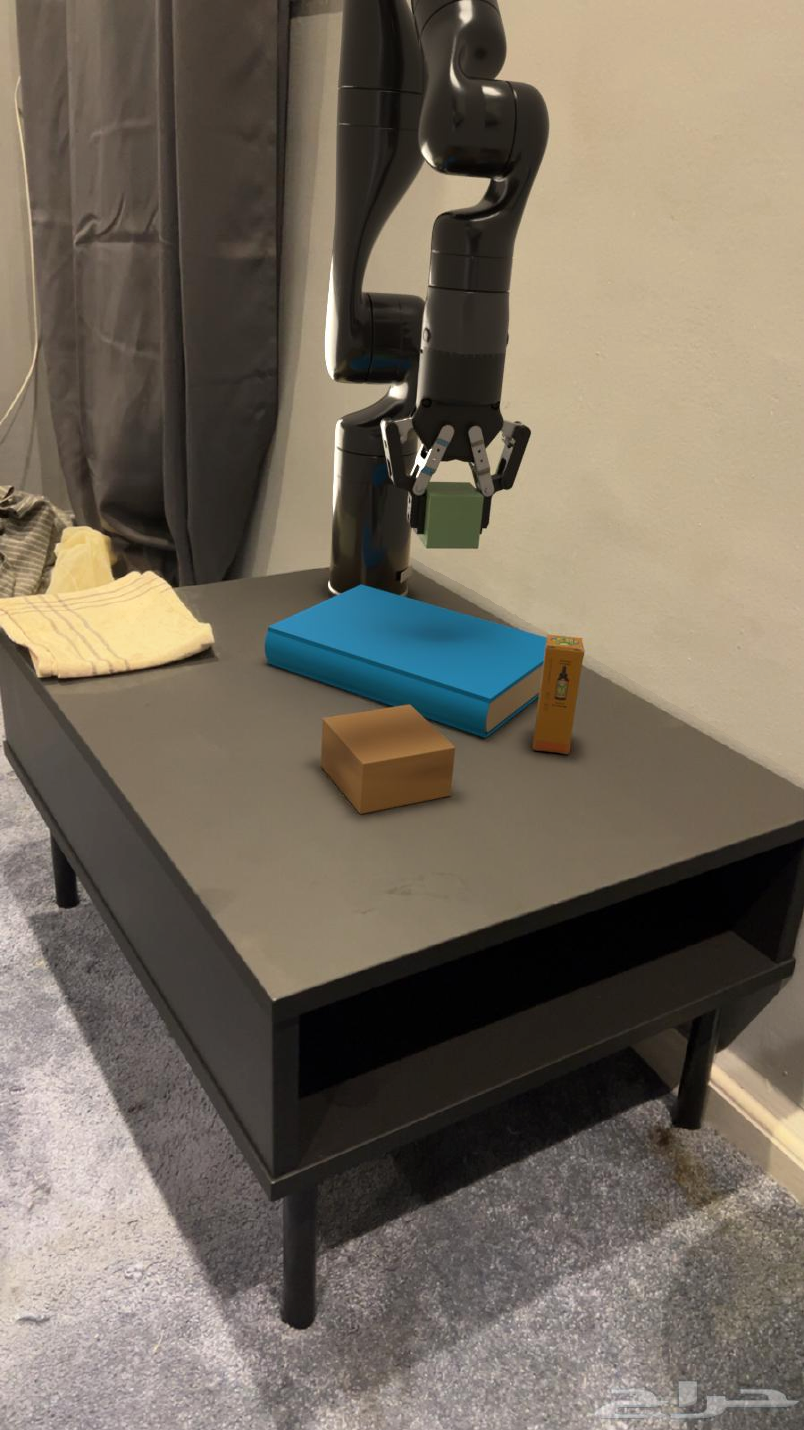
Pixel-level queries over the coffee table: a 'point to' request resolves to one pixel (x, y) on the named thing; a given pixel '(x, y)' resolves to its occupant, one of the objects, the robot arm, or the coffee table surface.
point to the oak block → (386, 758)
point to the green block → (452, 516)
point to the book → (413, 657)
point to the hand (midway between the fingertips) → (446, 531)
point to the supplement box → (558, 693)
